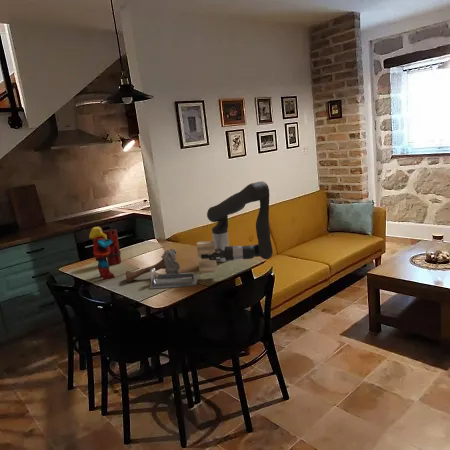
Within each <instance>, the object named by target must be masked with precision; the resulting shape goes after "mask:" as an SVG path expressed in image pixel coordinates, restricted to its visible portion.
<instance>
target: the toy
mask: <svg viewBox="0 0 450 450" xmlns="http://www.w3.org/2000/svg"><path fill="white" fill-rule="evenodd" d="M88 238H89V239H91V241H92V243H93V247H92V251H93V255H94V259H95V261H96V262H98V263H97V270H98V272H99V275H100V278H102V281H103V280H104V281H107V280H110V279H113V278H116V276H115V274H114V273H112V272H111V270H110V266H109V265H108V261H107V256H108V255H109V253H110V251H111V249H110V247H109V246H112V247H116V246H117V244H116V243H114V242H115V241H116V239H117V236H116V234H113V235H111V236H110V237H109V239H108V240H107V235H106V234H104V233H103V229H102V227H100V226H94V227H92V228H91V230H90V233H89V236H88Z"/></svg>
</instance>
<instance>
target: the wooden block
mask: <svg viewBox="0 0 450 450" xmlns="http://www.w3.org/2000/svg"><path fill="white" fill-rule="evenodd" d="M196 250H197V258H198V259H197V260H198V269H199V270H198V271H199V274H208V273H218V263H217V261H216V260H209V258H208V259H201V255H202V254H212V253H215V241H213V240H208V241H207V240H205V241H197V242H196ZM214 255H215V254H214Z"/></svg>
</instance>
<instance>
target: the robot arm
mask: <svg viewBox="0 0 450 450" xmlns="http://www.w3.org/2000/svg"><path fill="white" fill-rule="evenodd" d="M253 202H254V203H255V202H259V209H258V210H259V211H258V214H257V217H256V220H255V221H256V222H255V232H256V237H257V244H252V245H231V246H230V243H229V242H230V241H229V233H228V228H229V218H228V217H229V215H233V214H236V213H238V212H240V211H241V210H244V208H245V207H246V205H247V204H250V203H253ZM269 214H270V188H269V186H268V184H267V183H266V182H265V181H257V182H252V183H249V184H248V185H246V186H245V187H244V188H242V189H241V190H240V191H239V192H236V193H234V194H232V195H230V196H229V197H227V198H225V199H224V200H223V201H221V202H220V203H218V204H215V205H214V206H211V207H209V208H208V210H207V212H206V217H207V220H208V221H210V222H212V223H217V224H216V225H214V227H212V228H211V234H212V241H215V253H212V254H202V255H201V259H208V258H209V260H216V261H217V262H218V263H222V262H223V263H225V262H230V261H241V260H251V259H254V258H257V257H260V258H261V259H263V260H269V259H271V258H272V256H273V253H274V251H273V245H272V241H271V228H270V218H269V217H270V216H269ZM214 254H215V255H214Z"/></svg>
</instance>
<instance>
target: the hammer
mask: <svg viewBox="0 0 450 450" xmlns="http://www.w3.org/2000/svg"><path fill="white" fill-rule="evenodd" d="M176 256H177V251H176V250H175V249H174V248H170V249H167V250H164V252H163V254H162V255H161V258H162V259H161V260H160V261H159V262H157V263H155V264H153V265H151V266H147V267H144V268H141V269H138V270H136V271H130V270H126V271H125V277H126V281H127V283H131V282H132V281H134V280H135V279H136V278H138V277H140V276H143V275H145V274H147V273H150V270H151V269H152V268H155V272H157V271H159V270H161V269H162V270H165V274H175V273H179V270H180V269H181V266H180V263H178V261H177V259H176Z"/></svg>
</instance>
